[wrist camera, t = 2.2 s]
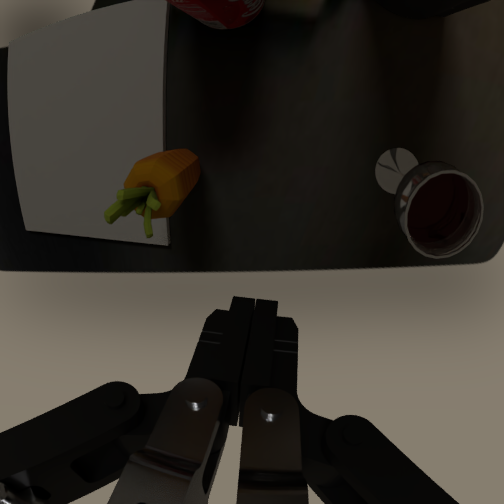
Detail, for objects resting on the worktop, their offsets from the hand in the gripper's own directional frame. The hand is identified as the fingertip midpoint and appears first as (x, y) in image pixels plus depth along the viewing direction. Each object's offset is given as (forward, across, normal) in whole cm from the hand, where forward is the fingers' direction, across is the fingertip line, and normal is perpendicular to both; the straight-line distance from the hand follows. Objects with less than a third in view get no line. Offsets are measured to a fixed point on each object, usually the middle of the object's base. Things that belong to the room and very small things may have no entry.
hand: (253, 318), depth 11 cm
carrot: (+23, +9, 0) cm, 25 cm away
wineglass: (+23, -12, -1) cm, 26 cm away
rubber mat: (+23, +24, -4) cm, 33 cm away
